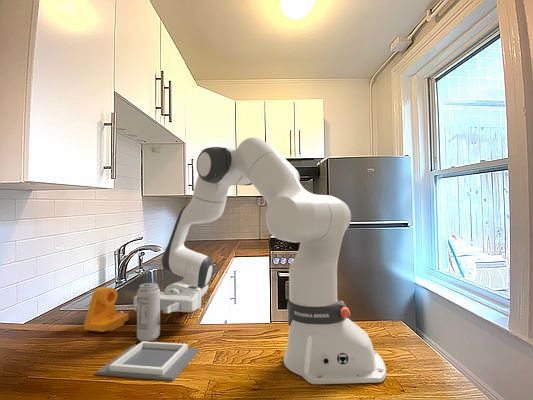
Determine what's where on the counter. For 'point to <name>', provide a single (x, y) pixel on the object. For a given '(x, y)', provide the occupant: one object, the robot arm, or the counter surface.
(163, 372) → the framed grey tray
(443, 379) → the counter surface
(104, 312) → the bracket
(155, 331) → the energy drink can
